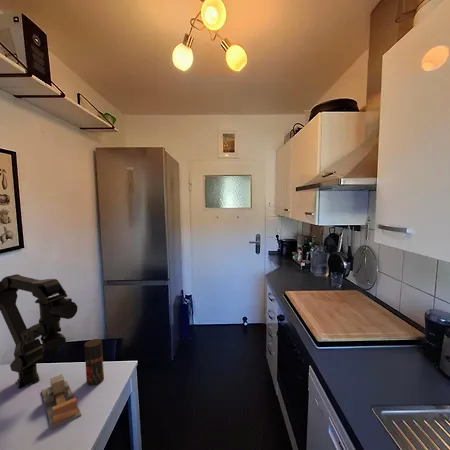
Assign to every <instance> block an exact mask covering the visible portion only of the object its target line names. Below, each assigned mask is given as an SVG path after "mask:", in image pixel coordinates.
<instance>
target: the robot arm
mask: <svg viewBox="0 0 450 450" xmlns="http://www.w3.org/2000/svg"><path fill="white" fill-rule="evenodd" d="M19 290H20V291H24V292H29V293H31V295H32V297H33V298H37V299H36V300H35V301H34V304H38V307H39V319H38V322H37V323H36V324H34V325H32V326H30V327H27V326H26V323H25V321H24V319H23V317H22V314H21V313H20V310H19V307H18V306H17V300H18V291H19ZM0 313H1V316H2V317H3V320H4V322H5V324H6V326H7V328H8V331H9V333H10V335H11V337H12V340H13V341H14V345H15V346H14V352H13V356H14V360H13V361H12V362H11V363H10V365H9V367H10V370H11V372H15V373H18V379H17V380H16V381H17V388H18V389H21V388H24V387H27V386H29V385H33V384H35V383H37V382H40V376H39V372H38V369H37V364H38V363H40V362H41V361H43V357H44V353H45V351H48V353H49V356H50V358H55V357H56V355H57V352H58V349H59V347H61V346H65V345H66V344H67V339H66V337H65V335H64V334H63V333H60V332H62V328H61V319H67V320H71V319H72V318H74V317H75V315H77V313H78V305H77V303H76V302H74V301H73V299H72V298H71V297H68V294H67V291H66V290H65V289H64V287H63V286H62V284H61V283H60V281H59V280H58V279H57V278H46V279H45V278H44V279H38V278H37V279H36V278H32V277H27V276H23V275H20V274H17V273H15V274H12V275H7V276H5V277H3V278H2V279H1V280H0ZM39 337H40V338H39Z"/></svg>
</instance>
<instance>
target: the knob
mask: <svg viewBox="0 0 450 450" xmlns="http://www.w3.org/2000/svg"><path fill="white" fill-rule="evenodd" d="M49 381H50V382H49V384H50V386H49V387H46V389H47V394H48V397H49V400H50V402H53V401H54V395H56V394H59V393H61V392H63V394H64V396H67V395H68V390H69V387H70V384H69V382H68V380H65V378H64V375H63V374H62V373H61V374H58V375H56V376H53V377H51V378H50V379H49ZM67 382H68V383H67Z"/></svg>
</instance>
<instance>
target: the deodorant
mask: <svg viewBox="0 0 450 450" xmlns="http://www.w3.org/2000/svg"><path fill="white" fill-rule="evenodd" d="M103 353H104V352H103V341H102V339H100V338H94V339H90V340H87V341H86V342H85V343H84V359H85V363H84V364H85V377H86V385H87V386H90V387H94V386H98V385H100V384H102V383H103V382H104V381H105V374H104V355H103Z"/></svg>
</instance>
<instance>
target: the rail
mask: <svg viewBox="0 0 450 450" xmlns="http://www.w3.org/2000/svg"><path fill="white" fill-rule="evenodd" d="M67 383H68V384H69V382H68V381H67ZM41 394H42V398H43V402H44V406H45V410H46V413H47V416H48V417H47V418H48V422H49V426H50V429H51V430H54V429H56V428H58V427H60V426H63V425H64V424H66V423H69V422H71V421H73V420H75V419H77V418H80V417H81V416H82V413H81V411H80V408H79V406H78V400H77V397H75V396H74V394H73V392H72V389H71V388H70V386H69V390H68V395H67V396H64V394H63V392H61V393H59V394H56V395H54V401H53V402H50V400H49V397H48V394H47V388H44V389H41Z"/></svg>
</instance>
